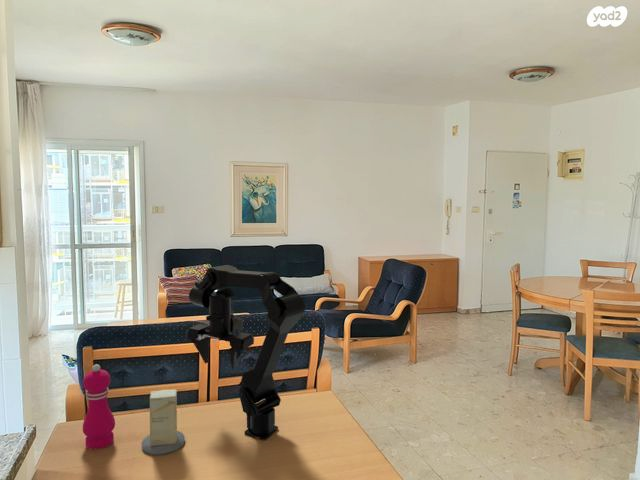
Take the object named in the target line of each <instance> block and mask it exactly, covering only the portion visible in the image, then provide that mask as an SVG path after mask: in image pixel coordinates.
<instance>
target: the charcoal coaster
mask: <svg viewBox="0 0 640 480" xmlns="http://www.w3.org/2000/svg"><path fill="white" fill-rule="evenodd" d="M185 441H186V439H185V434H184V433H183V432H181V431H179V430H177V441H176V443H175V444H165V445H155V446H150V434H149V435H147V436H145V438H144V439H142V442H141V450H142V451H143V452H144V453H145V454H148V455H151V456H164V455H169V454H172V453H174V452H176V451H178V450H180V449H181V448H182V447H183V445H184V444H185Z"/></svg>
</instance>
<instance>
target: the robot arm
mask: <svg viewBox="0 0 640 480" xmlns="http://www.w3.org/2000/svg"><path fill="white" fill-rule="evenodd" d="M226 287H228V288H226ZM229 287H239V288H247V289H248V288H249V289H258V291H259V292H260V295H261V302H262V305H263V306H264V307H265V309H266V310H267V314H266V318H267V322H268V323H269V324H268V325H269V326H268V329H267V331H266V335H265V337H264V340H263V342H262V344H261V348H260V351H259V353H258V357H257V358H256V362H255V364H254V367H253V368H252V369H250V370H247V371H245V372H243V374H242V376H241V380H240V383H238V386H239V389H238V394H239V395H238V396H239V399H240V403H241V408H242V413H245V414H246V428H247V429H246V430H244V434H245V435H247V436H250V437H254V438H257V439H260V440H263V441H266V440H267V439H268V438H269V437H271V436H272V435H273V434H274V433H275V432H276V431H278V429H279V426H278V425H276V407H279V406H280V403H281V401H282V399H281V397H280V395H279V393H278V392H277V390H276V388H275V379H274V376H273V374H274V371H275V368H276V366H277V364H278V363H277V362H278V361H279V358H280V356H281V354H282V353H281V352H282V350H283V347H284V345H285V343H286V340H287V337H288V335H289V332H290V331H291V330H292V328H293V327H295V325H297V323H299V321H300V320H301V318H302V316H303V315H304V314H305V310H306V304H304V303H305V301H304V300H303V298H302V297H301V296H300V294H299V293H298V291H297V290H296V289H295V287H293V286H292V285H290V284H289V283H288V282H286V281H285V280H283V279H282V278H281V276H280V275H279V274H278V273H277V272H275V271H269V272H267V271H265V272H264V271H251V270H240V269H238V268H237V267H236V266H233V265H230V264H225V265H219V266H212V267H207V269H206V272H205V274H204V276H203V278H202V279H201V280H197V281H195V282H194V286H193V287H191V289H190V291H189V293H188V300H189V302H190V303H191V304H193V305H196V306H199V307H202V308H205V309H208V311H209V312H208V313H209V314H208V315H207V316H205V320H206V321H209V322H208V324H209V325H208V324H203V323H197V324H196V325H194V326H191V327H189V328H188V329H187V331H186V339H187V340H190V343H192V344H193V345H194V347H195V348H196V350H197V351H198V354H199V355H200V357H201V358H202V360H203V362H204V364H208V363H209V360H210V341H211V340H212V339H215V340H220V341H223V342H224V341H225V342H227V343H228V342H229V346H230V348H229V349H228V353H229V358H230V359H229V360H230V366H231V370H232V371H235V370H236V369H237V366H238V363H239V361H240V358H241V356H242V353H243V351H244V350H245V349H247V348H249V347H251V346H253V345H254V344H255V338H254V336H253V335H254V334H252V333H247V332H242V330H243V326H244V322H245V321H244V319H241V318H235V315H234V313H232V312H231V311H232V310H231V309H232V308H231V306H232V305H231V304H232V303H231V301H232V300H231V299H232V298H236V297H237V295H236V293H235V291H233V290H232V288H229ZM223 288H224V289H223ZM271 289H273V290H274V291H275V292H277V293H278V294H280V295H281V296H278V297H274V296H273V294H272V292H271ZM236 330H237V331H240V332H238V333H236ZM232 333H233V334H232ZM234 333H236V334H234Z"/></svg>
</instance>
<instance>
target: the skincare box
mask: <svg viewBox="0 0 640 480" xmlns="http://www.w3.org/2000/svg"><path fill="white" fill-rule="evenodd" d="M177 392H178V391H177V388H172V389H171V388H170V389H158V390H151V391H150V395H149V435H150V446H155V445H165V444H175V443H176V441H177V431H178V411H177V408H178V407H177V405H178V403H177V402H178V400H177V398H178V393H177Z"/></svg>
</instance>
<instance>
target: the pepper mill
mask: <svg viewBox="0 0 640 480" xmlns="http://www.w3.org/2000/svg"><path fill="white" fill-rule="evenodd" d="M91 369H92V370H90V371H89V372H87V373H86V374H85V376H84V377H83V380H82V385H83V386H82V387H83V388H84V389H85V390H86V391H85V395H86V396H85V398H86V399H87V400H88V406H87V407H88V408H87V412H86V415H85V418H84V420H83V423H82V433H83V434H84V436H86V437H85V447H86V448H87V449H89V450H100V449H104V448H107V447H109V446H110V445H111V444H112V443H114V441H115V437H114V431H113V430H114V429H115V427H116V420H115V416H114V414H113V413H112V411H111V409H110V407H109V403H108V396H109V394H110V392H109V386H110V384H111V375H110V373H109V372H108V371H107V370H104V369H101V366H100V364H97V363H96V364H94V365H92V368H91Z"/></svg>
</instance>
